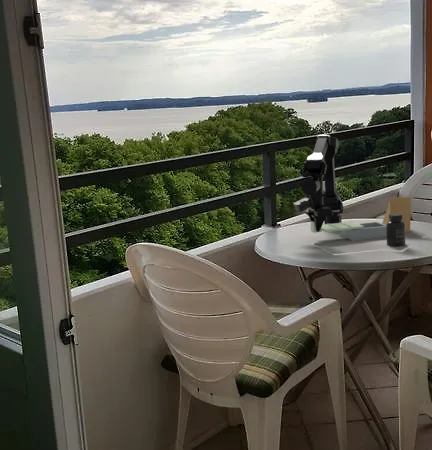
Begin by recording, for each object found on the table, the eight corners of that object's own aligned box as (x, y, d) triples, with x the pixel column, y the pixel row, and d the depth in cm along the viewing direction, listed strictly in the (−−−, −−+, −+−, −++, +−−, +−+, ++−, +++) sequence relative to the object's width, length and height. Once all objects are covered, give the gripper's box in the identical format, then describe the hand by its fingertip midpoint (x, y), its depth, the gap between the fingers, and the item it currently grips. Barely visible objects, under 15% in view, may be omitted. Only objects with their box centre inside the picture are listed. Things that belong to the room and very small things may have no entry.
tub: (352, 242, 250) (351, 230, 249) (340, 237, 260) (340, 225, 259) (389, 238, 254) (389, 226, 253) (376, 233, 264) (376, 221, 263)
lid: (317, 234, 246) (317, 224, 245) (307, 229, 255) (307, 219, 255) (363, 229, 251) (363, 219, 250) (352, 225, 260) (352, 215, 259)
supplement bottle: (405, 244, 243) (406, 212, 240) (404, 248, 236) (405, 216, 234) (387, 243, 245) (387, 212, 243) (385, 247, 238) (385, 216, 236)
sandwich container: (400, 226, 276) (400, 191, 273) (411, 233, 261) (411, 196, 258) (380, 227, 276) (380, 192, 273) (389, 234, 261) (390, 197, 258)
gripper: (287, 189, 255) (288, 228, 258) (305, 196, 237) (306, 237, 240) (313, 187, 258) (313, 225, 261) (333, 193, 240) (333, 234, 243)
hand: (316, 230), depth 251 cm, fingers closed on lid, 3 cm apart
